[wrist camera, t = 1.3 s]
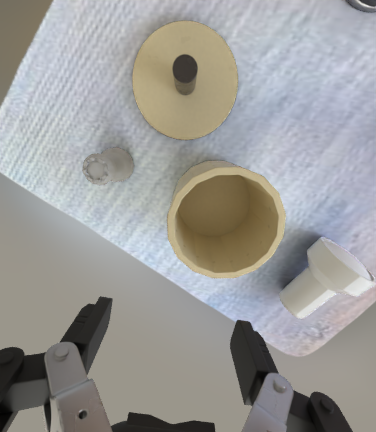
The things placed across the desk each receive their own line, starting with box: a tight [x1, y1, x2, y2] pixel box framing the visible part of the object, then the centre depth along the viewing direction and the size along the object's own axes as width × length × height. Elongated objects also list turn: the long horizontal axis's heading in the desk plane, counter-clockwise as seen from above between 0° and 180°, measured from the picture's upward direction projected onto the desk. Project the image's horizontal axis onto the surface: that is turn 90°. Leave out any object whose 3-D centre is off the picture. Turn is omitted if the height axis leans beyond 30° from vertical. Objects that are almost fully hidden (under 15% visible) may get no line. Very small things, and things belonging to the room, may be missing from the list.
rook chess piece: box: [83, 147, 134, 185], centre depth 26 cm, size 4×4×8 cm
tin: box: [167, 160, 286, 278], centre depth 27 cm, size 11×11×10 cm
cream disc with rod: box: [132, 21, 238, 140], centre depth 24 cm, size 12×12×7 cm
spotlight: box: [279, 237, 376, 319], centre depth 32 cm, size 8×11×8 cm
